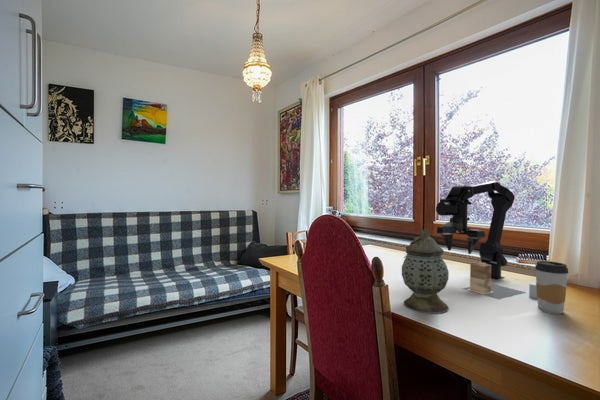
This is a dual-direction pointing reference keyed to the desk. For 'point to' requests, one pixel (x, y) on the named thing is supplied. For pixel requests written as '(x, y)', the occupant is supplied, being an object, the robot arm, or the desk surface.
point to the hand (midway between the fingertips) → (459, 252)
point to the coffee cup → (551, 286)
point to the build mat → (499, 292)
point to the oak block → (480, 285)
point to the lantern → (425, 275)
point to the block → (532, 290)
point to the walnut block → (480, 271)
